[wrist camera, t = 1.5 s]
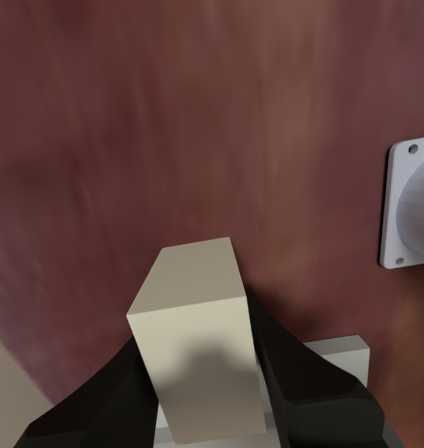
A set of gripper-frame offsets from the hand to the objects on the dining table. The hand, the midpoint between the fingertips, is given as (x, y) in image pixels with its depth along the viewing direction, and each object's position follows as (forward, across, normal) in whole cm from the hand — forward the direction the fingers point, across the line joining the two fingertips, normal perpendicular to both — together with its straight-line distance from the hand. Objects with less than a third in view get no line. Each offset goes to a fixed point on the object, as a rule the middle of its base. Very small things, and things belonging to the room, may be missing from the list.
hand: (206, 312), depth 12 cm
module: (+2, 0, 0) cm, 2 cm away
